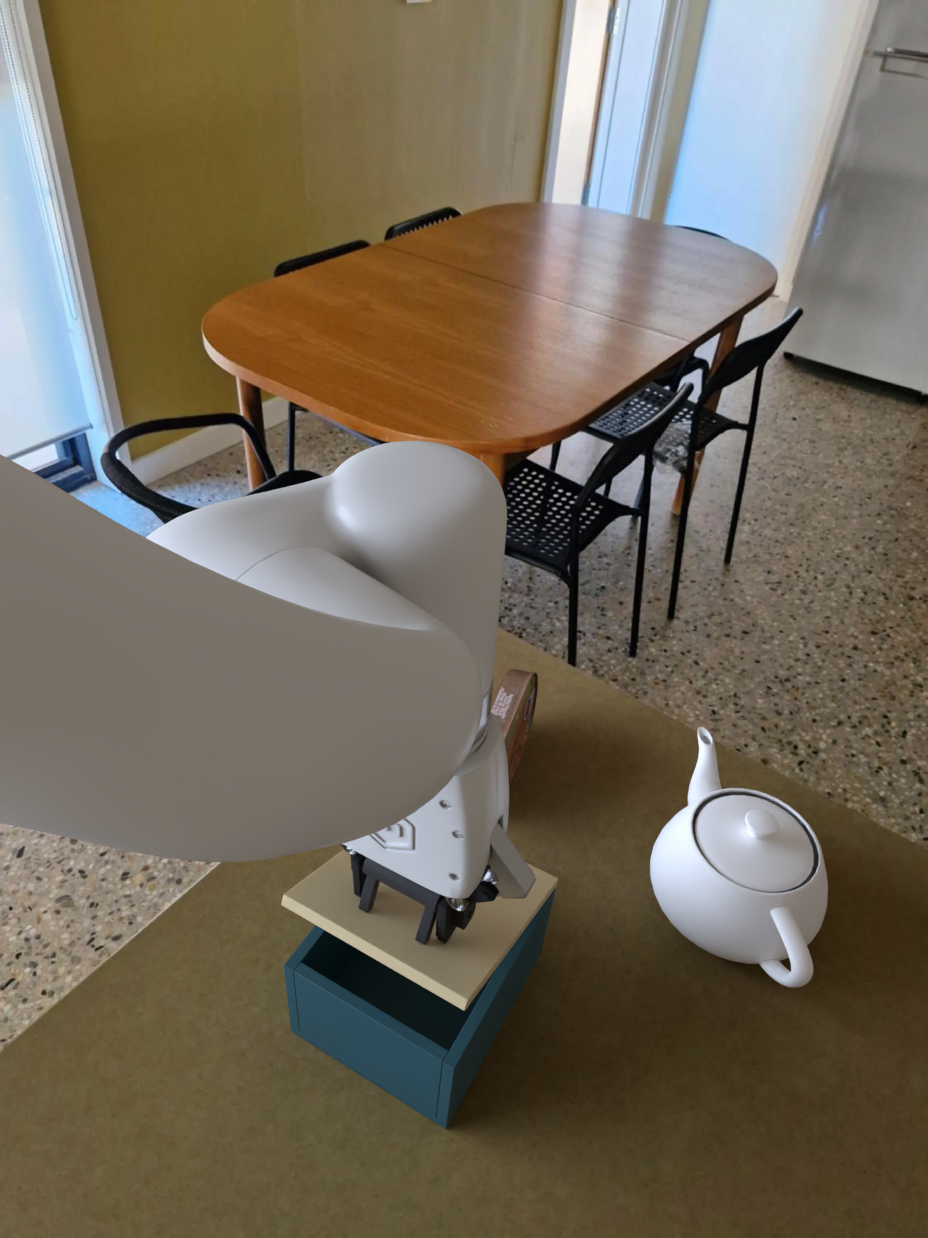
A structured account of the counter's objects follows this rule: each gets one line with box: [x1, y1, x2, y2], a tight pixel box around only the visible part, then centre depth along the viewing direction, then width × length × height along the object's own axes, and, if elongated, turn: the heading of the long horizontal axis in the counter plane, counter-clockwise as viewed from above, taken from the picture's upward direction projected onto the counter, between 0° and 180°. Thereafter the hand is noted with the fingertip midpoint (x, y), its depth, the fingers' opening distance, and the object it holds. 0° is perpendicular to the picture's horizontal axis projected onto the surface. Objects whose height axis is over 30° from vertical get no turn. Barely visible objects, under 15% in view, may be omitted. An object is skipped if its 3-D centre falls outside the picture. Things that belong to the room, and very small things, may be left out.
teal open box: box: [283, 887, 557, 1130], centre depth 62 cm, size 15×13×9 cm
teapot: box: [649, 726, 829, 988], centre depth 70 cm, size 22×14×11 cm, turn 8°
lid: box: [280, 849, 559, 1011], centre depth 57 cm, size 15×13×5 cm
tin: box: [491, 668, 539, 788], centre depth 80 cm, size 15×3×8 cm, turn 161°
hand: (412, 898), depth 54 cm, fingers closed on lid, 5 cm apart
